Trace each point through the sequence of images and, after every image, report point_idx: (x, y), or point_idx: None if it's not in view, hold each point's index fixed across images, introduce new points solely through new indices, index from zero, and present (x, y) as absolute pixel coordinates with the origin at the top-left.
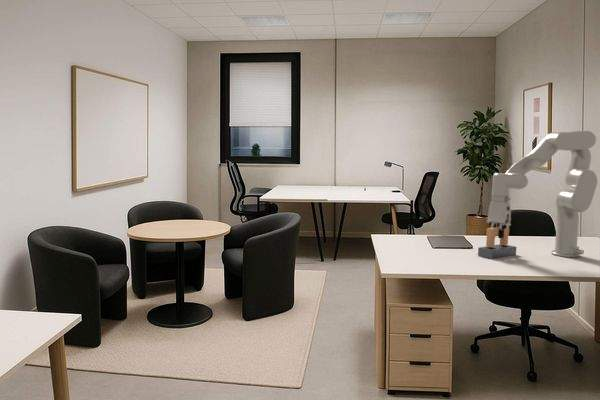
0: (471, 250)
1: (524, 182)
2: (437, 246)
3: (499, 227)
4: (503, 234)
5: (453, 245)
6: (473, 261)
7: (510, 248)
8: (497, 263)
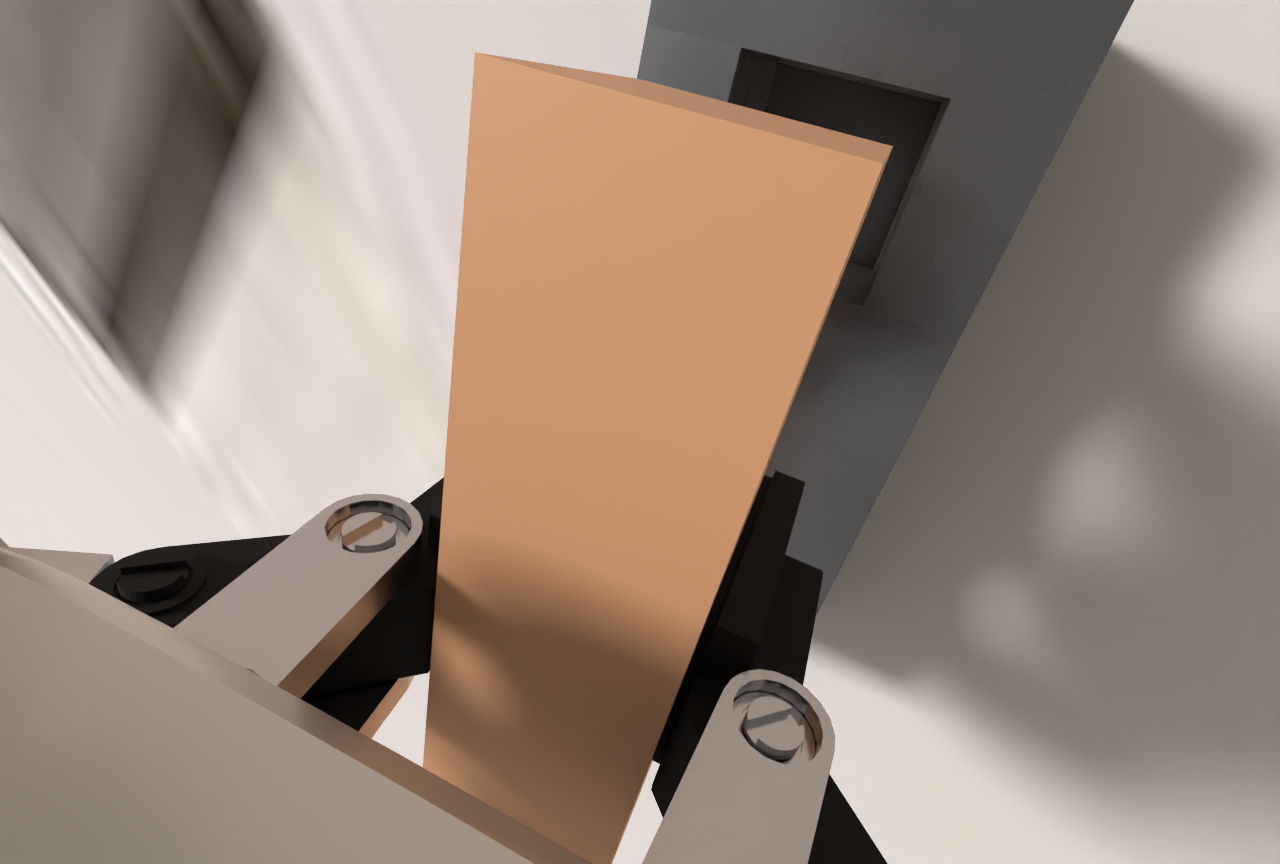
0: (359, 211)
1: None
2: (79, 265)
3: (546, 635)
4: (812, 611)
5: (63, 43)
6: None
7: (992, 265)
8: (926, 777)
